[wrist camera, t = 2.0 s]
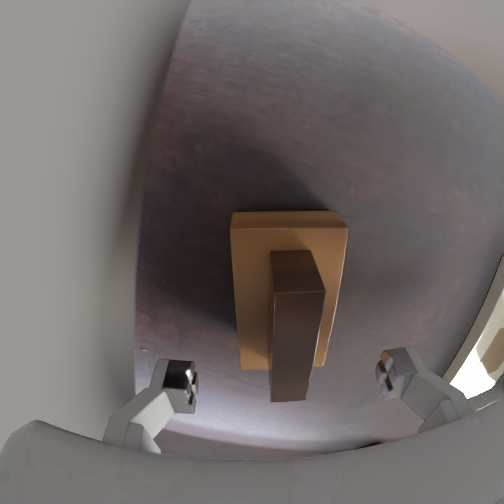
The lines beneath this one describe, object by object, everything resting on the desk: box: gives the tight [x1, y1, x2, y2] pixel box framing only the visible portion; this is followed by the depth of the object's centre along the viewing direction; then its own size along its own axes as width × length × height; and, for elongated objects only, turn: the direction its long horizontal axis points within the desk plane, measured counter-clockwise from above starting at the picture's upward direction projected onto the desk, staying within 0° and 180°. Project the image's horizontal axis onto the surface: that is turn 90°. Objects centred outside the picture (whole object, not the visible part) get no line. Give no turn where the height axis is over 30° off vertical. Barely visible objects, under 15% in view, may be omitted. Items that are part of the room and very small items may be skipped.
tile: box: [442, 256, 504, 398], centre depth 19 cm, size 20×12×2 cm, turn 1°
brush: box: [230, 209, 348, 402], centre depth 14 cm, size 9×5×6 cm, turn 1°
